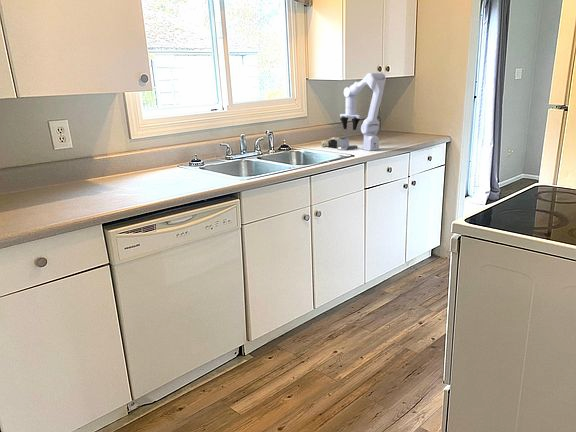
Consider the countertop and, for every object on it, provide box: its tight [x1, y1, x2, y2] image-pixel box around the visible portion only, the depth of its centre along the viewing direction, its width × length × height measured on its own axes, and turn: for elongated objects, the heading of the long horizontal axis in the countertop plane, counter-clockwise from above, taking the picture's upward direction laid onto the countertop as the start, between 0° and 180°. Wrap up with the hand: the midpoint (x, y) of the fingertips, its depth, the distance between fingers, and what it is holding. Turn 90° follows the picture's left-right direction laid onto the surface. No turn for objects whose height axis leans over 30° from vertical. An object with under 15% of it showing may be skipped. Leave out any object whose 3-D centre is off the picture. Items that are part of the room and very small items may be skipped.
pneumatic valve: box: [321, 136, 340, 149], centre depth 292 cm, size 6×12×12 cm
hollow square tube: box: [337, 137, 350, 148], centre depth 280 cm, size 5×5×5 cm
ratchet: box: [337, 144, 358, 151], centre depth 282 cm, size 13×6×4 cm, turn 118°
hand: (349, 129), depth 293 cm, fingers open, 7 cm apart
